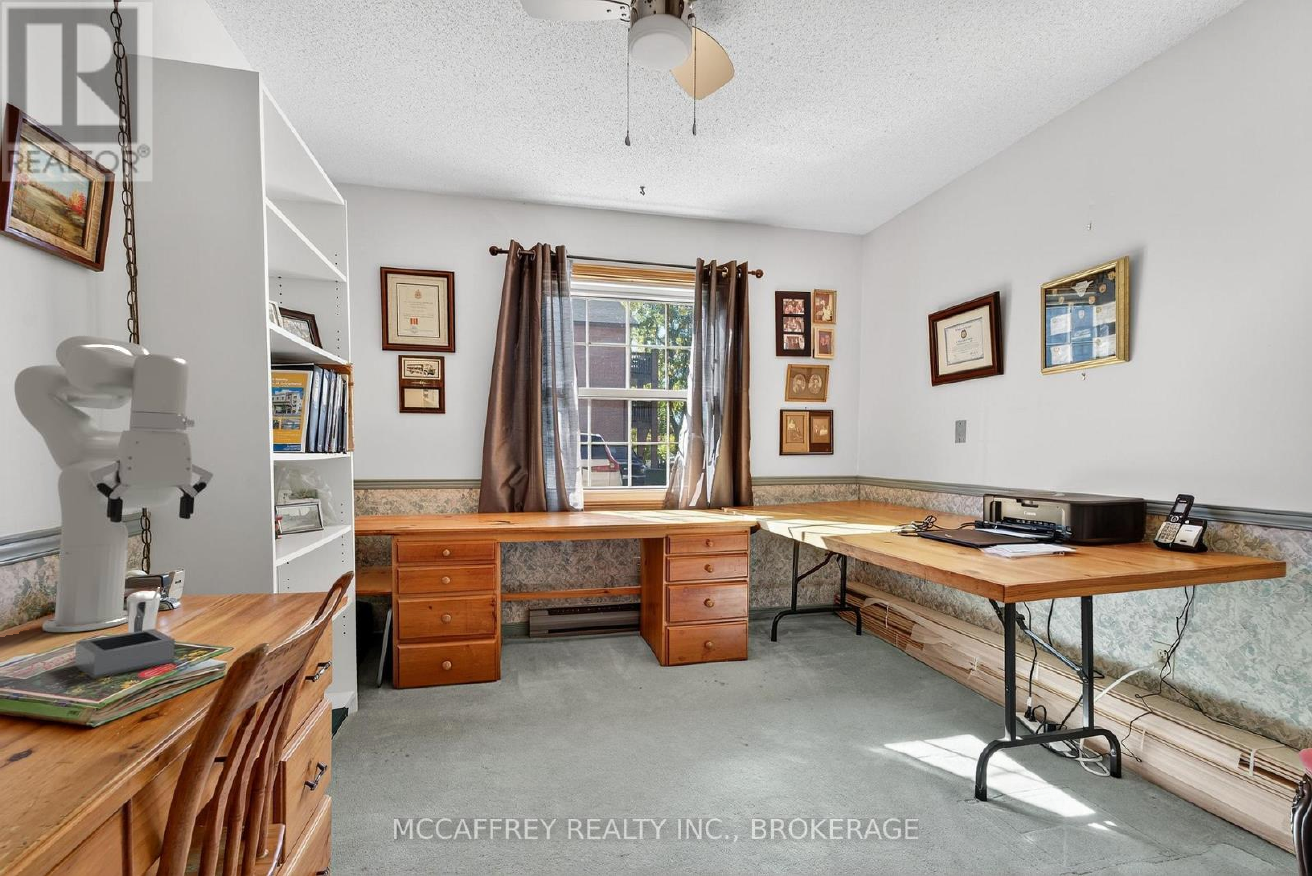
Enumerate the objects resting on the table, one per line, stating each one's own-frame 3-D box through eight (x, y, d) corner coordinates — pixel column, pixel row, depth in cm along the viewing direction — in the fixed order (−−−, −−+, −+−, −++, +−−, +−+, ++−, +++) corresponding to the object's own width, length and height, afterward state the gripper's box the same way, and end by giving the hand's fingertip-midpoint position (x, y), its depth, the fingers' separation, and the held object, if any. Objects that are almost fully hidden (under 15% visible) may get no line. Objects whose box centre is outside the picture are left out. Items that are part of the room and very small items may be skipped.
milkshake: (141, 649, 100) (145, 590, 101) (116, 646, 101) (120, 588, 102) (167, 641, 105) (171, 585, 105) (144, 638, 106) (147, 583, 106)
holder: (74, 665, 92) (76, 642, 92) (151, 650, 100) (153, 628, 100) (93, 679, 87) (95, 654, 87) (173, 661, 95) (174, 639, 95)
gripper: (206, 427, 114) (201, 515, 113) (85, 420, 99) (78, 521, 99) (223, 427, 110) (217, 518, 109) (99, 420, 95) (92, 525, 95)
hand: (151, 520), depth 104 cm, fingers open, 9 cm apart
